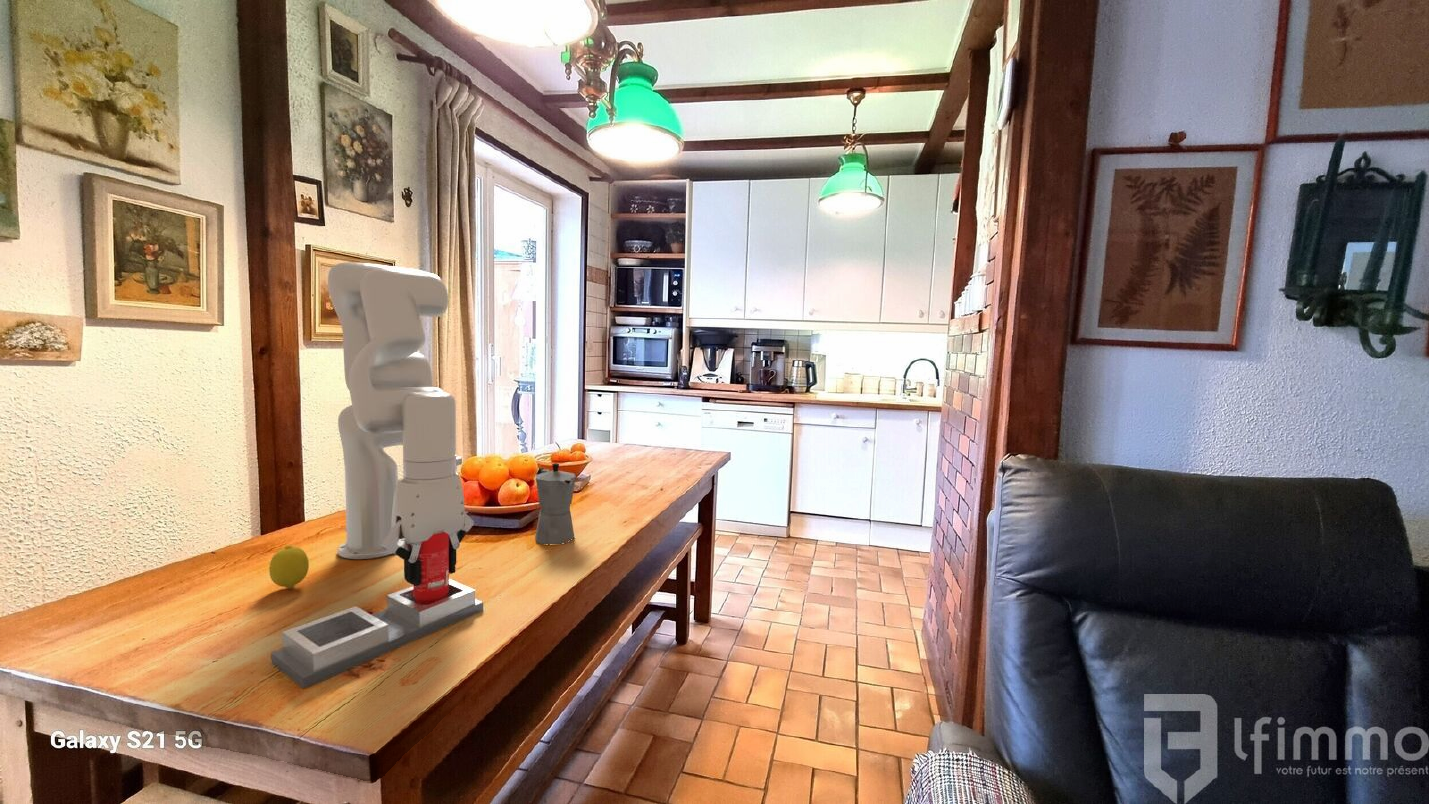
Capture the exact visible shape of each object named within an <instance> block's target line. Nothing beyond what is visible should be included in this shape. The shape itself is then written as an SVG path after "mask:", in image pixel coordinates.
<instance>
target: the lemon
mask: <svg viewBox="0 0 1429 804" xmlns="http://www.w3.org/2000/svg"><path fill="white" fill-rule="evenodd" d="M307 555H308V554H307V553H306V551H305V550H303V549H302V548H301V547H299V546H292V544H287V545H285V547H283V548H281V549H279V550H277V551H276V552H275V554H273V556H272V558H271V560H270V562H269V566H268V568H269V570H268V571H269V577H270V580H271V581H272V582H273V583H274V584H276V585H277V586H279V587H284V588H286V589H288V590H291V589H293V588H294V587H295V586H296V585H297V584H300V583H301V582H303V580H304V579H305V578H306V577H307V575H308V571H309V568H310V567H309V566H310V562H309V558H308V556H307Z"/></svg>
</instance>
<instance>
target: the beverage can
mask: <svg viewBox="0 0 1429 804" xmlns="http://www.w3.org/2000/svg"><path fill="white" fill-rule="evenodd" d="M444 531H445V530H443V531H440V532H436V533H433V535H432V536H431V537H430V538H429V539H428V540H427V541H425V542H422V543H421V547H420V550H419V554H418V557H417V560H418V561H420V562H421V584H420V585H418V586H414V585H412V586H413V596H414V598H415V600H416V603H417V604H419V605H422V606H426V605H429V604H431V603H434V602H437V601H439V600H442V599H444V598H446V596H447V594H448V592H449V579H450V573H449V534H447V533H446V532H444Z"/></svg>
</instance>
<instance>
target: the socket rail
mask: <svg viewBox="0 0 1429 804" xmlns="http://www.w3.org/2000/svg"><path fill="white" fill-rule="evenodd" d="M483 611H484V601H482V600H480V599H477V598H476V589H473V588H471V587H469V586H467V585H465V584H462V583H459V582H458V581H455V580H453V579H451V578H449V592H448V594H447V596H446V598H444V599H442V600H439V601H437V602H434V603H431V604H429V605H426V606H422V605H419V604H417V603H416V600H415V598H414V596H413V585H412V586H410V587H407V588H404V589H401V590H398V591H395V592H393V593H389V594H387V595H386V609H384V610H381V611H379V612H376V613H373V614H370V613H369V612H367V611H366V610H363V609H362V608H360V607H358V606H352V607H349V608H346V609H344V610H341V611H338V612H335V613H333V614H330V615H327V616H324V617H321V618H318V619H316V620H312V621H310V622H307V623H304V624H301V625H299V626H296V627H293V628H290V629H287V630H285V631H282V648H280V649H278V650H273V651H272V652H270V660H271V661H270V663H271V664H272V665H273V666H274V667H276V668H277V669H279V670H280V671H281V672H282V673H284V674H285V675H286V676H287V677H288V678H289V679H291V680H292V681H293V682H295V683H296V684H297V685H298V686H300V687H301V688H302V689H303V690H304V689H307V688H309V687H311V686H314V685H316V684H318V683H321V682H323V681H325V680H327V679H330V678H332V677H334V676H337V675H339V674H341V673H344V672H346V671H348V670H350V669H352V668H355V667H357V666H359V665H362V664H364V663H367V662H368V661H370V660H371V661H372V659H375V658H377V657H380V656H382V655H385V654H387V653H389V652H391V651H393V650H396V649H398V648H401V647H403V646H406V645H408V644H410V643H412V642H414V641H417V640H419V639H421V638H423V637H425V636H428V635H430V634H432V633H435V632H437V631H440V630H441V629H444V628H446V627H448V626H451V625H453V624H456V623H457V622H459V621H461V620H462V621H463V620H465V619H467V618H469V617H472V616H474V615H476V614H478V613H480V612H483Z"/></svg>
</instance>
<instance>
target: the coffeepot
mask: <svg viewBox="0 0 1429 804" xmlns="http://www.w3.org/2000/svg"><path fill="white" fill-rule="evenodd" d="M551 466H552V470H549V469H548V468H547V469H546V468H543V467H539V468H538V470H537V472H536V474H535V482H536V483H535V484H536V489H537V497H538V504H539V508H540V509H539V514H538V519H537V525H536V530H535V536H534V537H535V538H534V539H535V542H536V543H537V544H539V543H540V544H539V545H542V544H548V545H547V546H551V545H550V544H561V545H563V544H562V543H565V544H567V543H566V542H568V541H569V540H571V539H573V538H574V539H575V532H574V525H573V520H572V513H571V505H572V503H573V502H572V501H573V497H574V490H575V485H576V484H575V483H576V478H577V476H576V474H575V473H573V472H569V471H568V472H567V471H563V470H559V468H560V467H559V466H560V464H559V463H558V462H554V463H551ZM574 539H573V540H574ZM568 543H569V542H568Z"/></svg>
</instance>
